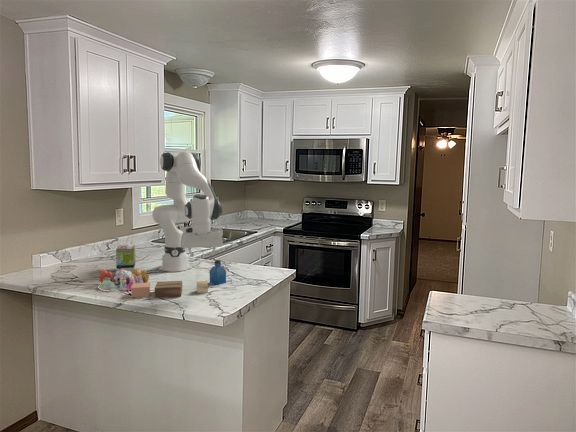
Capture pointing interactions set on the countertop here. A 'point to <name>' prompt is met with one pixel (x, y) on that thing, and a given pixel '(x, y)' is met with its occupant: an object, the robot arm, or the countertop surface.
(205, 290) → the maple cube
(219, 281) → the perfume bottle
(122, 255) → the tea box
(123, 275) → the candy landscape model
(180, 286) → the walnut block
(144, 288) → the terracotta block
